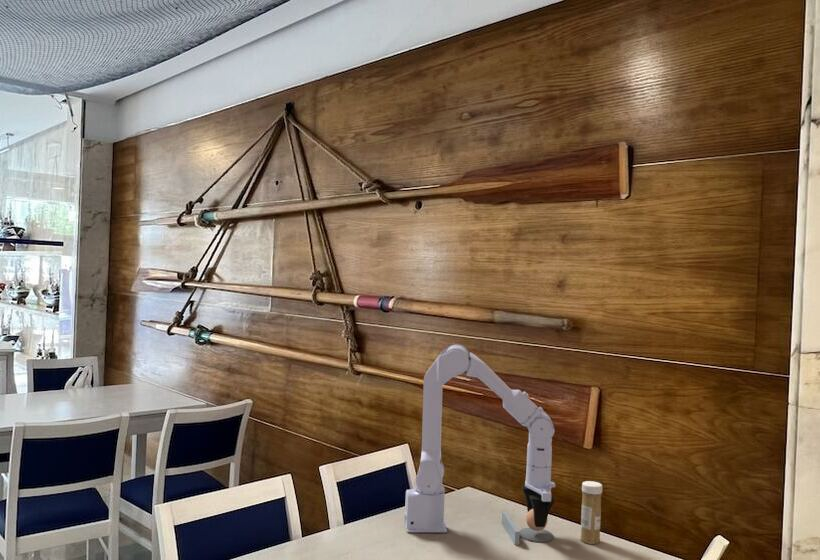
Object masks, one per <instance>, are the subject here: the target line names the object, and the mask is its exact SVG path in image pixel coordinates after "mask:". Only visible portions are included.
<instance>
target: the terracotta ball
mask: <svg viewBox="0 0 820 560" xmlns="http://www.w3.org/2000/svg"><path fill="white" fill-rule="evenodd" d="M525 522H526V525H527V526H528V528H531V529H533V530H535V531H539V530H542V529H544V530H545V528H546V526H547V525H548V518H547V521H546V524H545V527H536V526H535V522H534V512H533V509H531V510H530V511H529V512H528V511H527V512H526V515H525Z"/></svg>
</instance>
